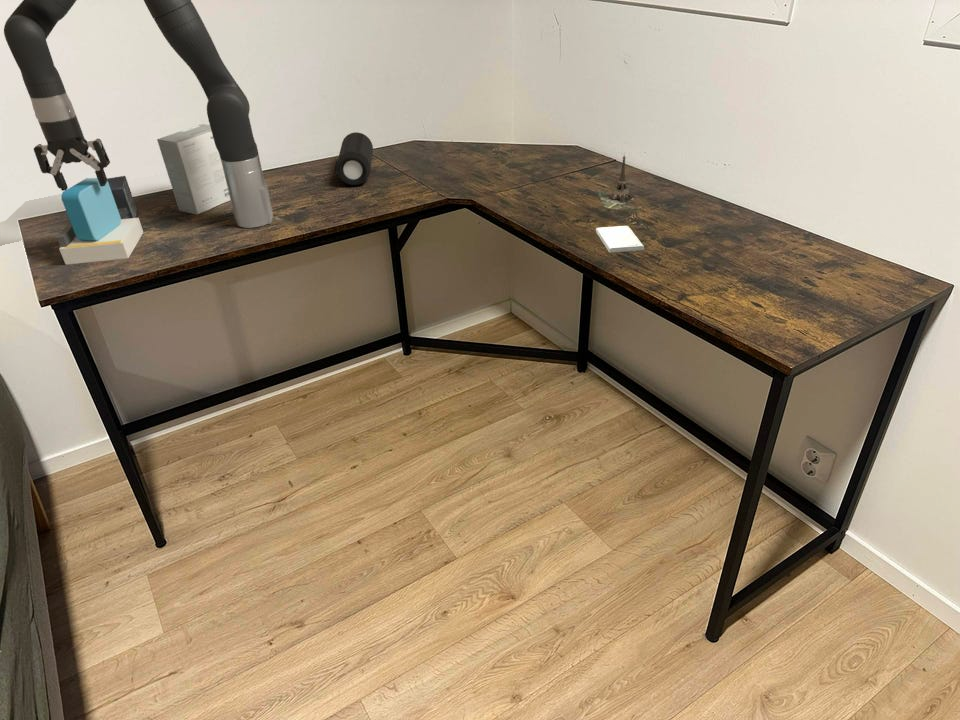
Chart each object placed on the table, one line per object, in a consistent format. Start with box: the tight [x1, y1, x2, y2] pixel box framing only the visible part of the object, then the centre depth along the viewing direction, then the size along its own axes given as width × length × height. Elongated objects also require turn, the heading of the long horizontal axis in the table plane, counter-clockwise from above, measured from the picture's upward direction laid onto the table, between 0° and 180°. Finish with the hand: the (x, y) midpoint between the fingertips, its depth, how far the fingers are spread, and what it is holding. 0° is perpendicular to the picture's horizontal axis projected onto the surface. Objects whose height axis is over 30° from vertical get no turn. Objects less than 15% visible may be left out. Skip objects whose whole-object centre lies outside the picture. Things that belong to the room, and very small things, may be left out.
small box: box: [107, 175, 139, 219], centre depth 177 cm, size 11×6×10 cm, turn 21°
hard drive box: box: [156, 123, 231, 216], centre depth 183 cm, size 16×8×20 cm, turn 150°
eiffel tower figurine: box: [596, 152, 643, 211], centre depth 178 cm, size 15×10×13 cm
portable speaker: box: [335, 131, 374, 186], centre depth 204 cm, size 26×10×10 cm, turn 5°
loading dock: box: [56, 217, 144, 265], centre depth 164 cm, size 14×16×6 cm
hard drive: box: [595, 225, 645, 254], centre depth 160 cm, size 2×8×12 cm
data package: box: [60, 177, 121, 241], centre depth 160 cm, size 12×4×12 cm, turn 175°
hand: (84, 187), depth 157 cm, fingers open, 8 cm apart
